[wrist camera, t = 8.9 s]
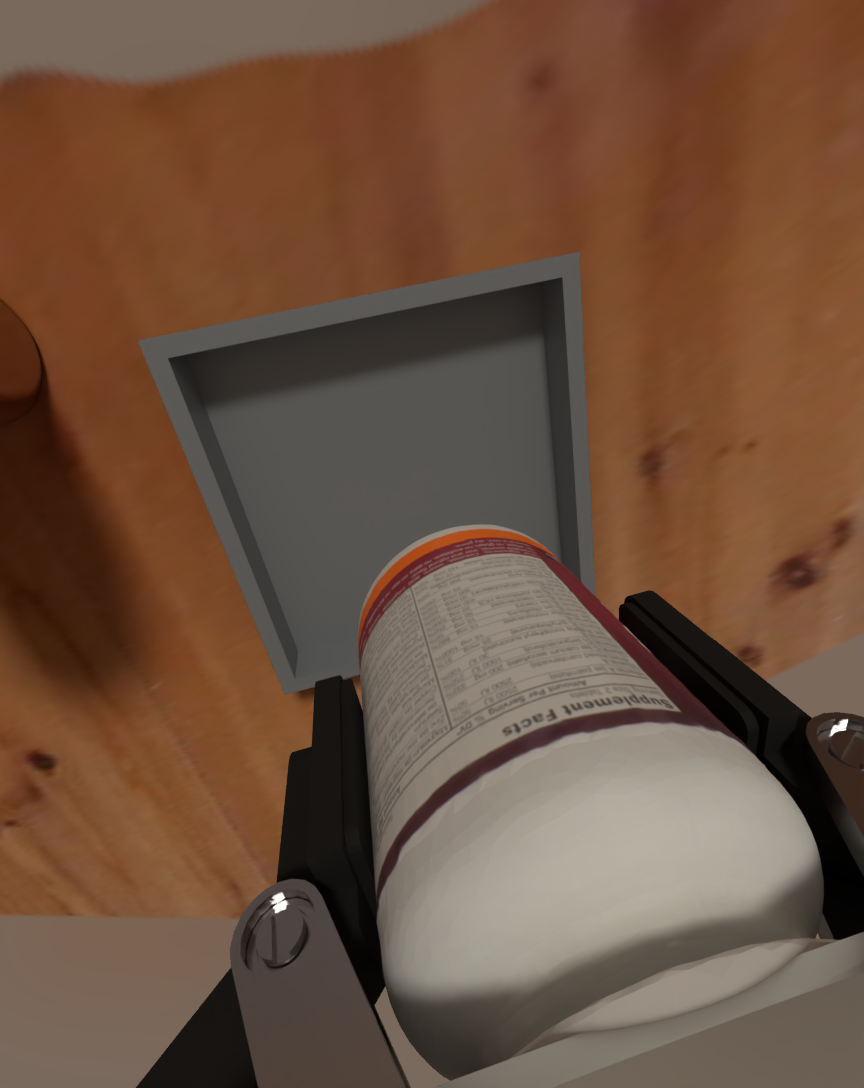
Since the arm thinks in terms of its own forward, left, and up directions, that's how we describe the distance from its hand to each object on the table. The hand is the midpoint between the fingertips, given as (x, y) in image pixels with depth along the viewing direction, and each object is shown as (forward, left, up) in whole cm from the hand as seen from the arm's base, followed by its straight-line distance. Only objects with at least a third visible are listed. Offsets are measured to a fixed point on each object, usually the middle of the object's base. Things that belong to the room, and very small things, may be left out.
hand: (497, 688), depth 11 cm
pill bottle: (0, 0, -3) cm, 3 cm away
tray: (0, 0, -16) cm, 16 cm away
